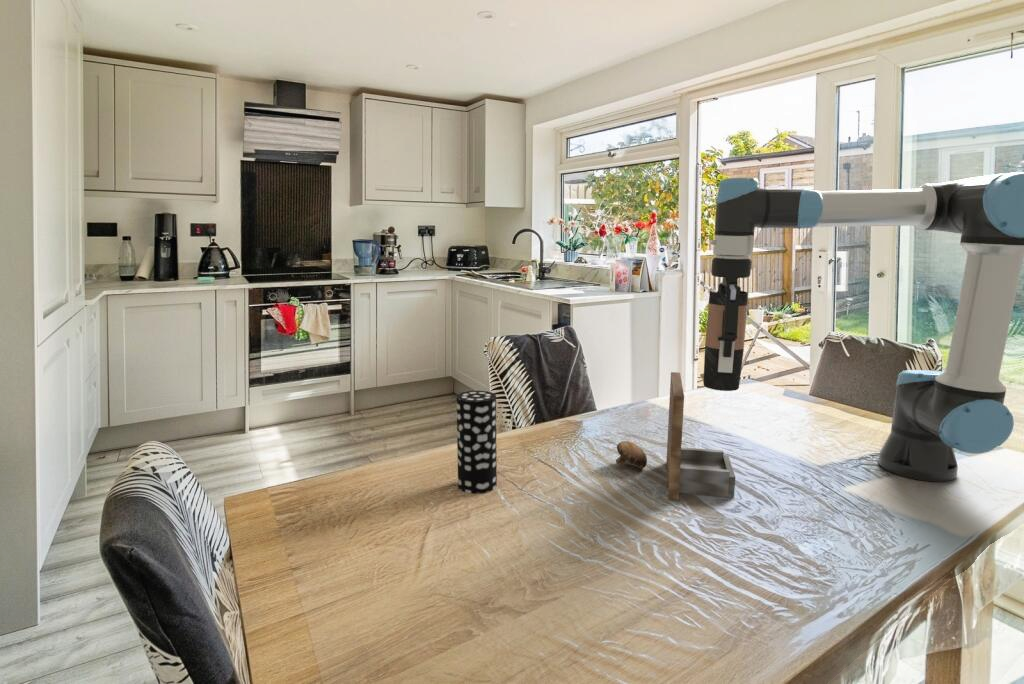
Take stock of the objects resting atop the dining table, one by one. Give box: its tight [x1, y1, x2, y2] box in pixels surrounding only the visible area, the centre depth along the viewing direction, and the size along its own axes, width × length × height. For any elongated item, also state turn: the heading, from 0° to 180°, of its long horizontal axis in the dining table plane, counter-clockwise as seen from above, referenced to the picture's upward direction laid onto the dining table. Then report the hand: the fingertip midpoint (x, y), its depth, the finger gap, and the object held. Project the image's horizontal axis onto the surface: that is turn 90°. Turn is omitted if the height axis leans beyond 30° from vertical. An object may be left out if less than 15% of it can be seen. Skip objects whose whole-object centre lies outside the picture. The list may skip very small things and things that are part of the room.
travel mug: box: [703, 290, 749, 392], centre depth 127 cm, size 8×8×20 cm
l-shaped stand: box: [665, 371, 736, 501], centre depth 132 cm, size 13×20×22 cm, turn 167°
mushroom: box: [615, 440, 648, 469], centre depth 142 cm, size 8×8×6 cm
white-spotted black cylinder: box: [456, 390, 498, 495], centre depth 131 cm, size 8×8×20 cm
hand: (722, 367), depth 128 cm, fingers closed on travel mug, 8 cm apart
